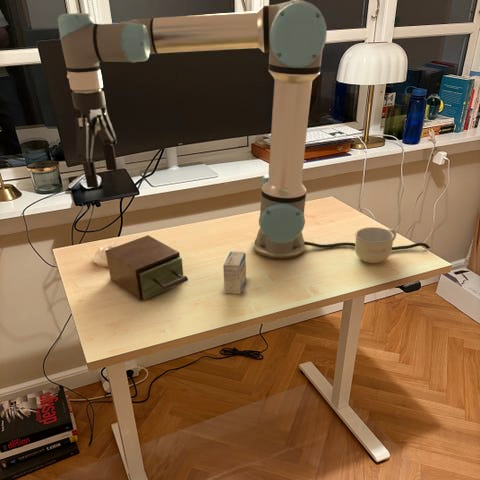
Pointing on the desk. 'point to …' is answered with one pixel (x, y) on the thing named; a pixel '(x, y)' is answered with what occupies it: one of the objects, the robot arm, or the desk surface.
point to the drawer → (161, 277)
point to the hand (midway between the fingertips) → (103, 178)
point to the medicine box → (234, 272)
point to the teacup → (374, 244)
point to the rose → (102, 256)
